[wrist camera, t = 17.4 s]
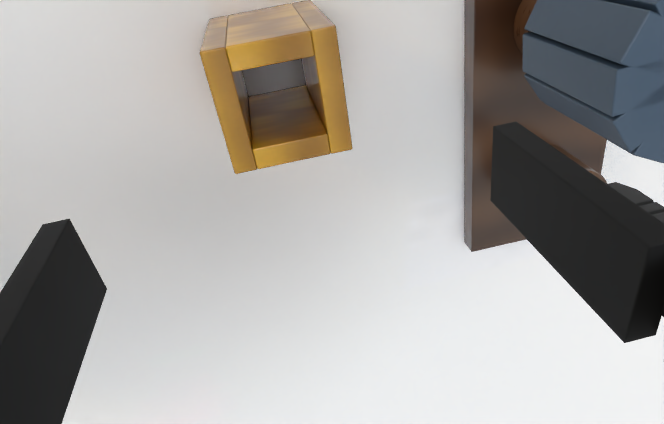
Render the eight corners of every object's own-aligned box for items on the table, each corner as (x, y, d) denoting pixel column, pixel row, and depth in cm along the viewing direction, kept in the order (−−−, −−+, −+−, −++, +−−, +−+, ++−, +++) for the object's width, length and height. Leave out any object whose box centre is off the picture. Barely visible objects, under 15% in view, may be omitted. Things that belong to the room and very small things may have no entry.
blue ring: (564, 137, 31) (655, 196, 24) (493, 30, 27) (580, 66, 20) (693, 33, 29) (833, 66, 22) (638, -102, 24) (792, -112, 18)
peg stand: (581, 215, 43) (713, 326, 31) (464, 242, 42) (553, 366, 30) (632, -102, 30) (890, -119, 18) (464, -71, 29) (620, -68, 17)
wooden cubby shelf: (235, 116, 33) (234, 174, 25) (208, 18, 29) (199, 51, 22) (326, 98, 33) (352, 149, 26) (310, -1, 30) (335, 25, 22)
